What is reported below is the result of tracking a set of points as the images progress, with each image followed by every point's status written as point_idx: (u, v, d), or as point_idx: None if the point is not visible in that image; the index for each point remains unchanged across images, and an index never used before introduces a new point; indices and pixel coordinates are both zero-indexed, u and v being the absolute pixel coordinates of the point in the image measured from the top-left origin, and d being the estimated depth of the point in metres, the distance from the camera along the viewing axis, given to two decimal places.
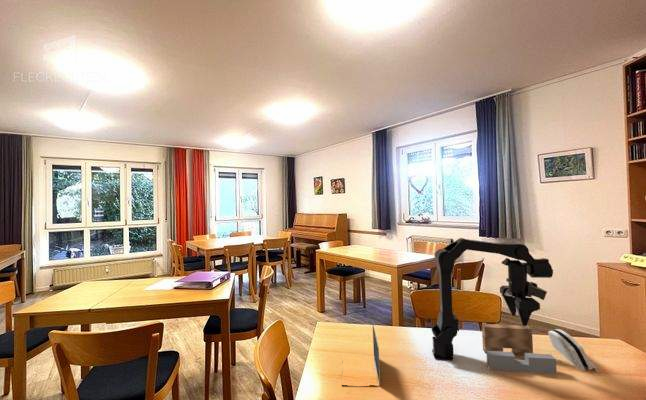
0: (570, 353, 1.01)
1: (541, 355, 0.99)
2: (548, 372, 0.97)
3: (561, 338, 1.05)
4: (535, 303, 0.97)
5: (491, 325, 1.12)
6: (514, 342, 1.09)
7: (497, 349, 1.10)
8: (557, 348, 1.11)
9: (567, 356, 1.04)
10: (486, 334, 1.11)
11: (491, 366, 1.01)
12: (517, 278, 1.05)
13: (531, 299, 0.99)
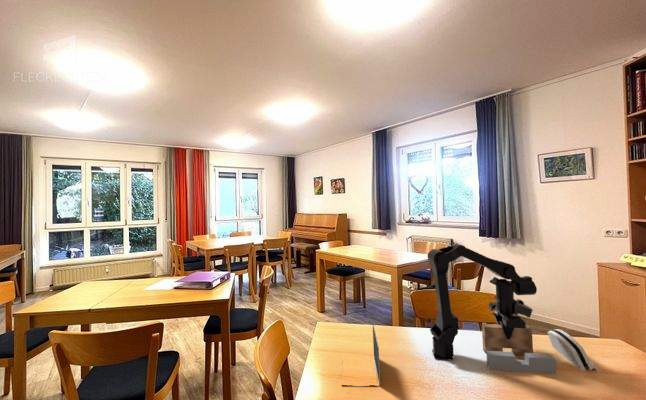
0: (570, 353, 1.01)
1: (541, 355, 0.99)
2: (548, 372, 0.97)
3: (561, 338, 1.05)
4: (521, 322, 1.02)
5: (491, 325, 1.12)
6: (514, 342, 1.09)
7: (497, 349, 1.10)
8: (557, 348, 1.10)
9: (567, 356, 1.04)
10: (486, 334, 1.11)
11: (491, 366, 1.01)
12: (505, 297, 1.09)
13: (517, 318, 1.03)
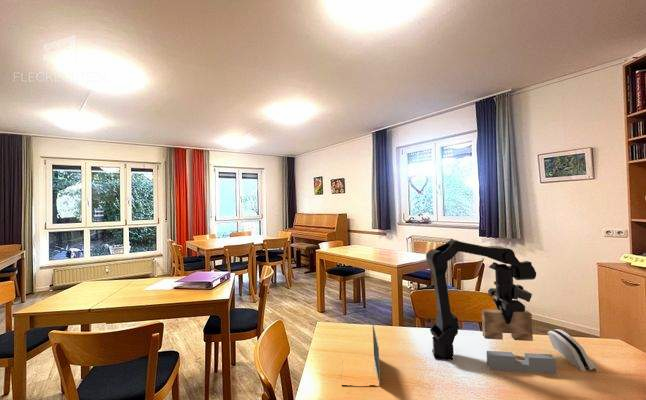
0: (571, 353, 1.01)
1: (541, 355, 0.99)
2: (548, 372, 0.97)
3: (561, 338, 1.04)
4: (520, 305, 1.02)
5: (491, 310, 1.12)
6: (514, 326, 1.09)
7: (497, 334, 1.10)
8: (557, 348, 1.10)
9: (567, 356, 1.04)
10: (486, 319, 1.11)
11: (491, 366, 1.01)
12: (505, 281, 1.09)
13: (517, 302, 1.04)
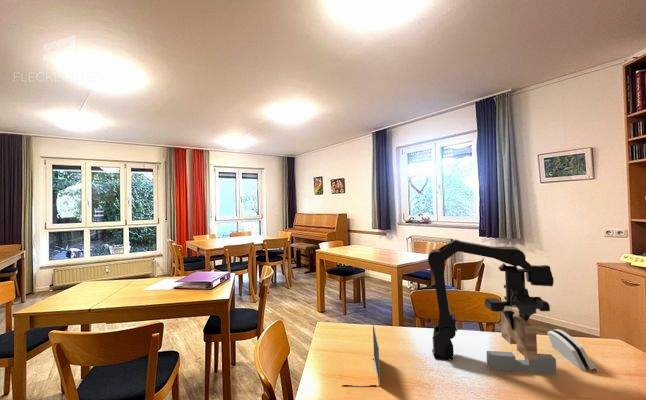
0: (571, 353, 1.01)
1: (541, 355, 0.99)
2: (548, 372, 0.97)
3: (561, 338, 1.04)
4: (490, 303, 1.01)
5: None
6: (516, 335, 1.00)
7: (507, 336, 1.05)
8: (557, 348, 1.10)
9: (567, 356, 1.04)
10: (501, 317, 1.09)
11: (491, 366, 1.01)
12: (512, 285, 1.00)
13: (494, 301, 1.01)
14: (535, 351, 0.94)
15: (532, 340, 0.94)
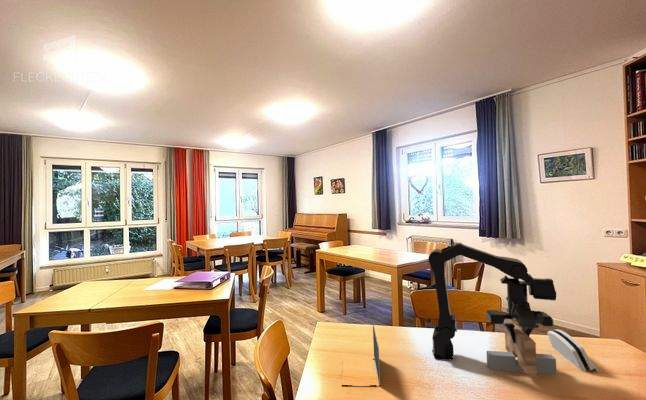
0: (571, 354, 1.01)
1: (541, 355, 0.99)
2: (548, 372, 0.97)
3: (561, 338, 1.04)
4: (489, 315, 1.01)
5: None
6: (517, 348, 0.98)
7: (510, 349, 1.04)
8: (557, 348, 1.10)
9: (567, 356, 1.04)
10: (505, 329, 1.08)
11: (491, 366, 1.01)
12: (514, 298, 0.99)
13: (495, 313, 1.01)
14: (534, 366, 0.92)
15: (531, 355, 0.92)
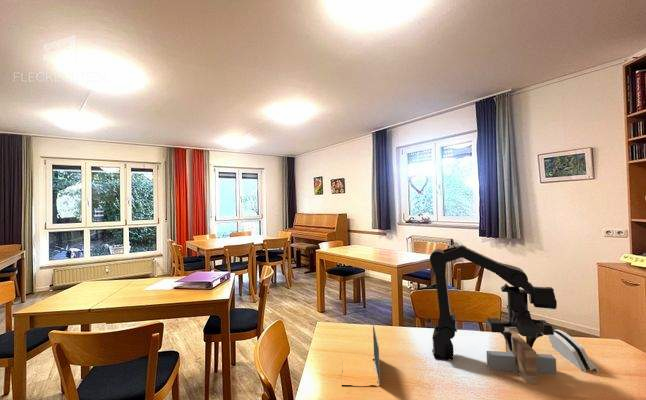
0: (571, 354, 1.00)
1: (541, 355, 0.99)
2: (548, 372, 0.97)
3: (561, 339, 1.04)
4: (490, 324, 1.01)
5: (513, 333, 1.05)
6: (517, 357, 0.98)
7: None
8: (556, 348, 1.10)
9: (567, 357, 1.04)
10: None
11: (491, 366, 1.01)
12: (514, 306, 0.99)
13: (495, 321, 1.01)
14: (535, 376, 0.92)
15: (532, 364, 0.92)
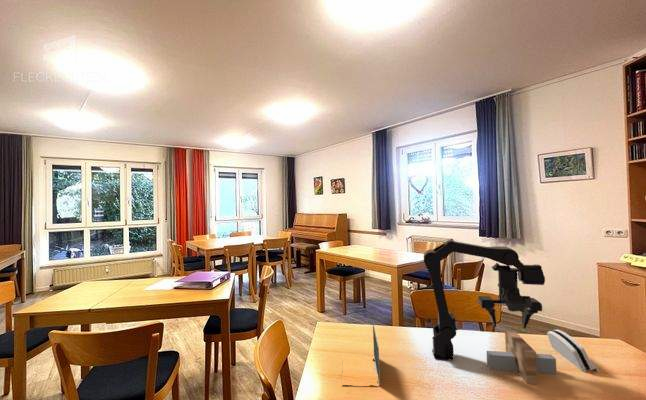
0: (571, 354, 1.00)
1: (541, 355, 0.99)
2: (548, 372, 0.97)
3: (562, 339, 1.04)
4: (481, 301, 1.05)
5: (513, 333, 1.05)
6: (517, 357, 0.98)
7: None
8: (556, 349, 1.10)
9: (567, 357, 1.04)
10: (505, 338, 1.08)
11: (491, 366, 1.01)
12: (506, 284, 1.02)
13: (486, 298, 1.05)
14: (535, 376, 0.92)
15: (532, 364, 0.92)
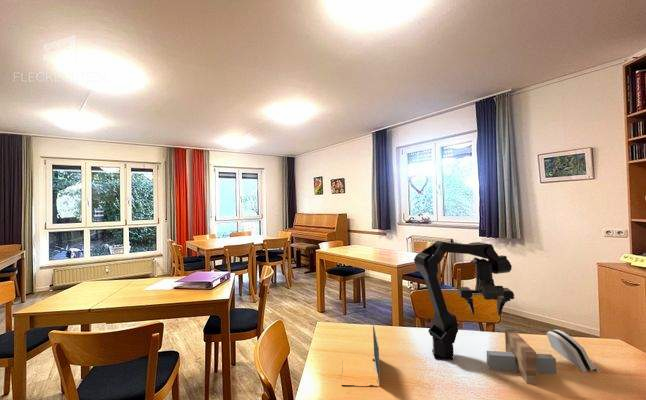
0: (571, 354, 1.00)
1: (541, 355, 0.99)
2: (548, 372, 0.97)
3: (562, 339, 1.04)
4: (460, 291, 1.16)
5: (513, 333, 1.05)
6: (517, 357, 0.98)
7: None
8: (556, 349, 1.10)
9: (567, 357, 1.04)
10: (505, 338, 1.08)
11: (491, 366, 1.01)
12: (486, 276, 1.13)
13: (465, 289, 1.16)
14: (535, 376, 0.92)
15: (532, 364, 0.92)
